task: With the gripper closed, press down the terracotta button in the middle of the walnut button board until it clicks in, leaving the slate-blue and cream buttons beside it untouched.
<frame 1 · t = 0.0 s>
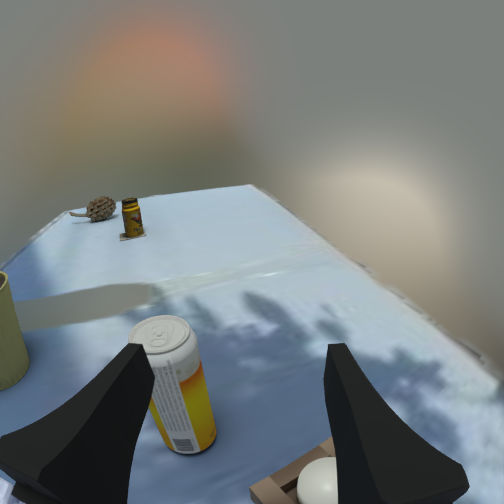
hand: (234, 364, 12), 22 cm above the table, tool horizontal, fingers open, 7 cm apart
pine cone: (93, 222, 120), on the table
cream button: (327, 487, 20), point 4 cm above the table, slide at 0.0 cm
condiment: (132, 236, 99), on the table
potted cactus: (4, 370, 38), on the table
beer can: (190, 437, 31), on the table
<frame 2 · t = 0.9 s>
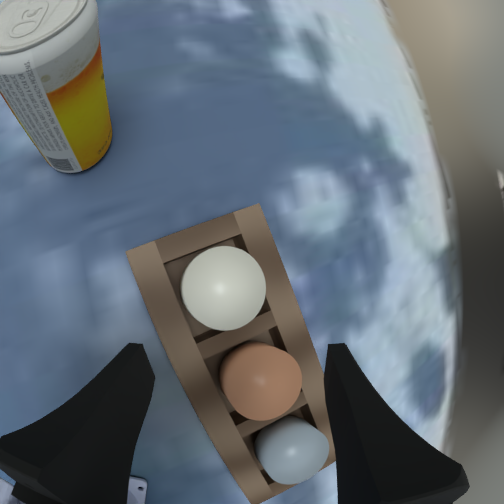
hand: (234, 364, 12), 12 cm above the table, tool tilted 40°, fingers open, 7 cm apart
cream button: (220, 288, 21), point 4 cm above the table, slide at 0.0 cm
button board: (244, 367, 24), on the table
terracotta button: (259, 380, 21), point 4 cm above the table, slide at 0.0 cm
slate button: (291, 450, 21), point 4 cm above the table, slide at 0.0 cm
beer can: (78, 142, 22), on the table
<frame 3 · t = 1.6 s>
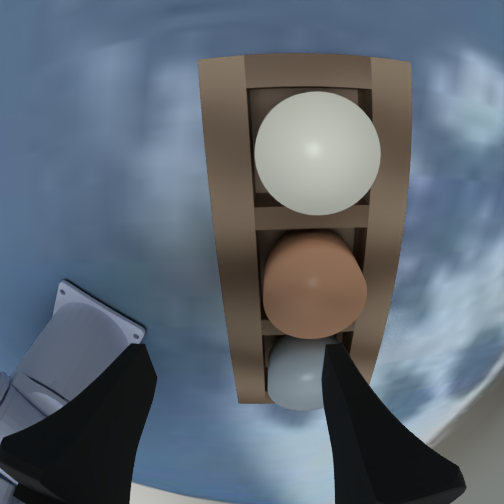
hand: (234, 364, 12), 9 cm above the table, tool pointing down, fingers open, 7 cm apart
cream button: (314, 149, 13), point 4 cm above the table, slide at 0.0 cm
button board: (306, 252, 20), on the table
terracotta button: (313, 284, 17), point 4 cm above the table, slide at 0.0 cm
slate button: (307, 372, 20), point 4 cm above the table, slide at 0.0 cm
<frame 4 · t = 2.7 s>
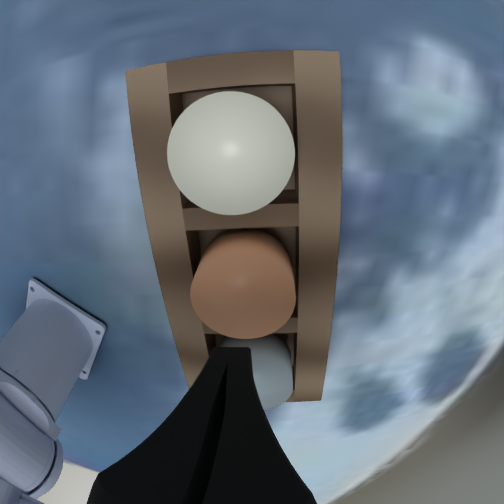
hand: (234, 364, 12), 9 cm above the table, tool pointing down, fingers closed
cream button: (233, 149, 14), point 4 cm above the table, slide at 0.0 cm
button board: (248, 252, 20), on the table
terracotta button: (244, 284, 17), point 4 cm above the table, slide at 0.0 cm
slate button: (252, 372, 20), point 4 cm above the table, slide at 0.0 cm
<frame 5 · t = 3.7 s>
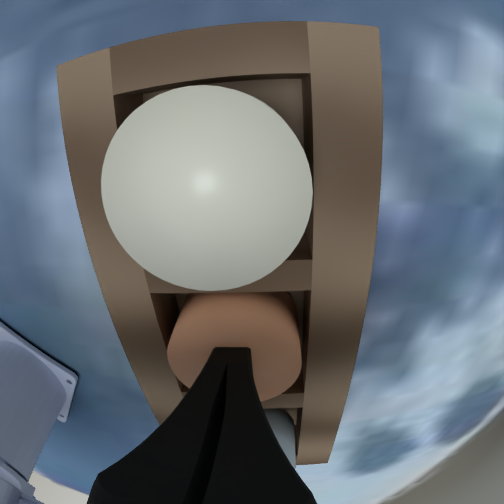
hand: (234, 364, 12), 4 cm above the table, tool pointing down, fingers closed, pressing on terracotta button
cream button: (209, 181, 9), point 4 cm above the table, slide at 0.0 cm
button board: (240, 307, 15), on the table
terracotta button: (236, 341, 13), point 2 cm above the table, slide at 1.3 cm, touching gripper
slate button: (247, 446, 15), point 4 cm above the table, slide at 0.0 cm
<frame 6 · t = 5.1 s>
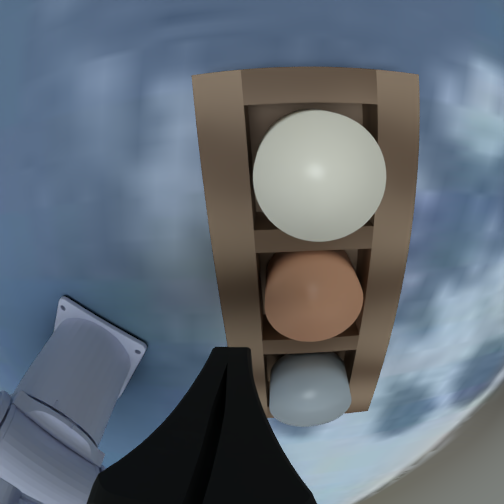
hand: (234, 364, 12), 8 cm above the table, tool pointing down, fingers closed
cream button: (316, 171, 13), point 4 cm above the table, slide at 0.0 cm
button board: (308, 270, 19), on the table
terracotta button: (312, 290, 17), point 2 cm above the table, slide at 1.5 cm
slate button: (309, 389, 19), point 4 cm above the table, slide at 0.0 cm
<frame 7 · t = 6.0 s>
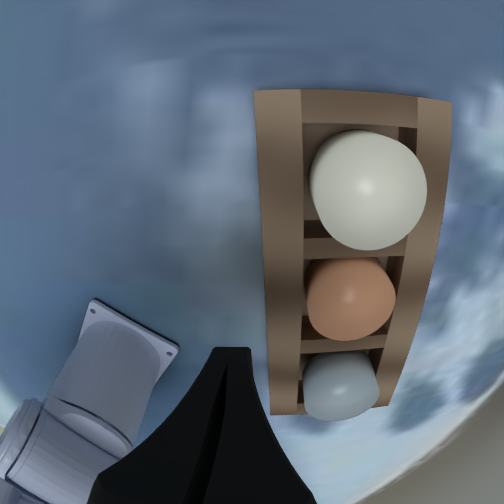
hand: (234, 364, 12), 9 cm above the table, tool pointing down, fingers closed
cream button: (365, 186, 14), point 4 cm above the table, slide at 0.0 cm
button board: (341, 274, 20), on the table
terracotta button: (348, 293, 19), point 2 cm above the table, slide at 1.5 cm
slate button: (339, 386, 20), point 4 cm above the table, slide at 0.0 cm
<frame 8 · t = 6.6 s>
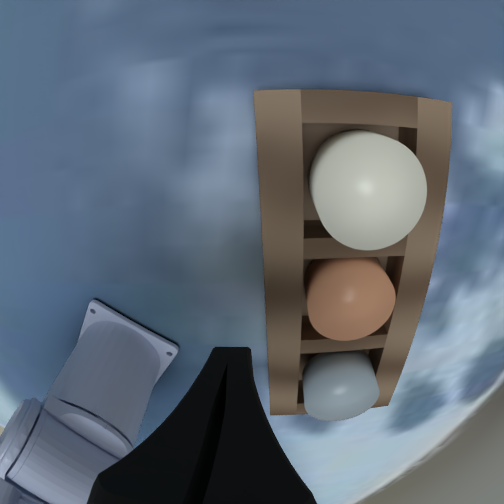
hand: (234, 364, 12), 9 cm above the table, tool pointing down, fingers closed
cream button: (365, 186, 14), point 4 cm above the table, slide at 0.0 cm
button board: (341, 274, 20), on the table
terracotta button: (348, 293, 19), point 2 cm above the table, slide at 1.5 cm
slate button: (339, 386, 20), point 4 cm above the table, slide at 0.0 cm
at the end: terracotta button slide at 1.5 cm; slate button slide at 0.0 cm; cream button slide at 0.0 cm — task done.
